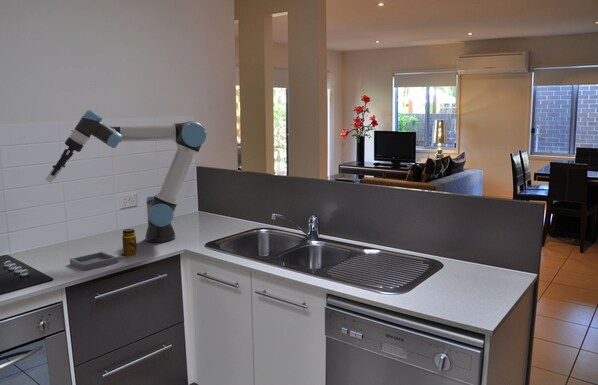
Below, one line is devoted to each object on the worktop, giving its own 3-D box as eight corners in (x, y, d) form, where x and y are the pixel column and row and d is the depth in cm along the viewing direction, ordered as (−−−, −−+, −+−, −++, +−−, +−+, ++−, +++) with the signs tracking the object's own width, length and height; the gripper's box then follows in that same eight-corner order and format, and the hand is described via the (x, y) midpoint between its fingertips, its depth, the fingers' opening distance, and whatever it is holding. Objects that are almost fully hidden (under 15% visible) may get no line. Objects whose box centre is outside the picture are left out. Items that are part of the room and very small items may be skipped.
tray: (102, 256, 235) (102, 251, 235) (117, 262, 226) (117, 257, 225) (70, 264, 224) (69, 258, 224) (84, 270, 215) (83, 265, 215)
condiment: (138, 255, 237) (137, 230, 235) (119, 258, 233) (117, 232, 231) (136, 251, 243) (135, 227, 241) (117, 254, 240) (116, 229, 238)
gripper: (71, 134, 244) (46, 171, 243) (66, 137, 221) (38, 178, 220) (86, 143, 247) (61, 180, 246) (82, 147, 224) (54, 187, 223)
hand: (50, 179), depth 233 cm, fingers open, 13 cm apart
